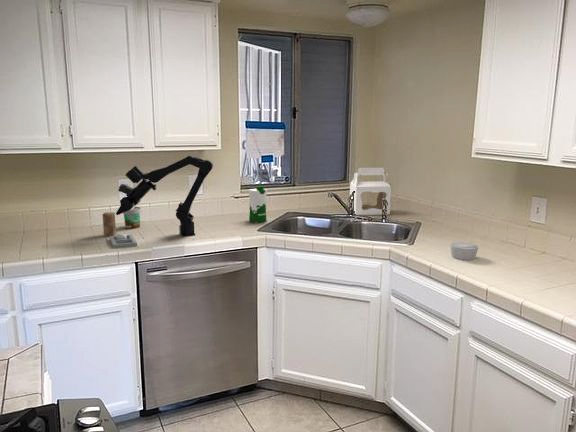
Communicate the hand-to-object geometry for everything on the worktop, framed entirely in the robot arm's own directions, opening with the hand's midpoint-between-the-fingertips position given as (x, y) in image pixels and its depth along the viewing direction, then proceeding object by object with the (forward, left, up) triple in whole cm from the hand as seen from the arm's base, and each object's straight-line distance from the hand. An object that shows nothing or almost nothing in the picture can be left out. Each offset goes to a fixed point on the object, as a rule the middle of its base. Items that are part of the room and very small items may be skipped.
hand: (118, 212), depth 237 cm
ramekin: (-126, +97, -11) cm, 160 cm away
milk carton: (-74, -6, -11) cm, 76 cm away
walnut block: (+5, -2, -11) cm, 12 cm away
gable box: (-147, -3, -11) cm, 148 cm away
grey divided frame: (+1, +16, -11) cm, 20 cm away
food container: (-9, -16, -11) cm, 22 cm away
